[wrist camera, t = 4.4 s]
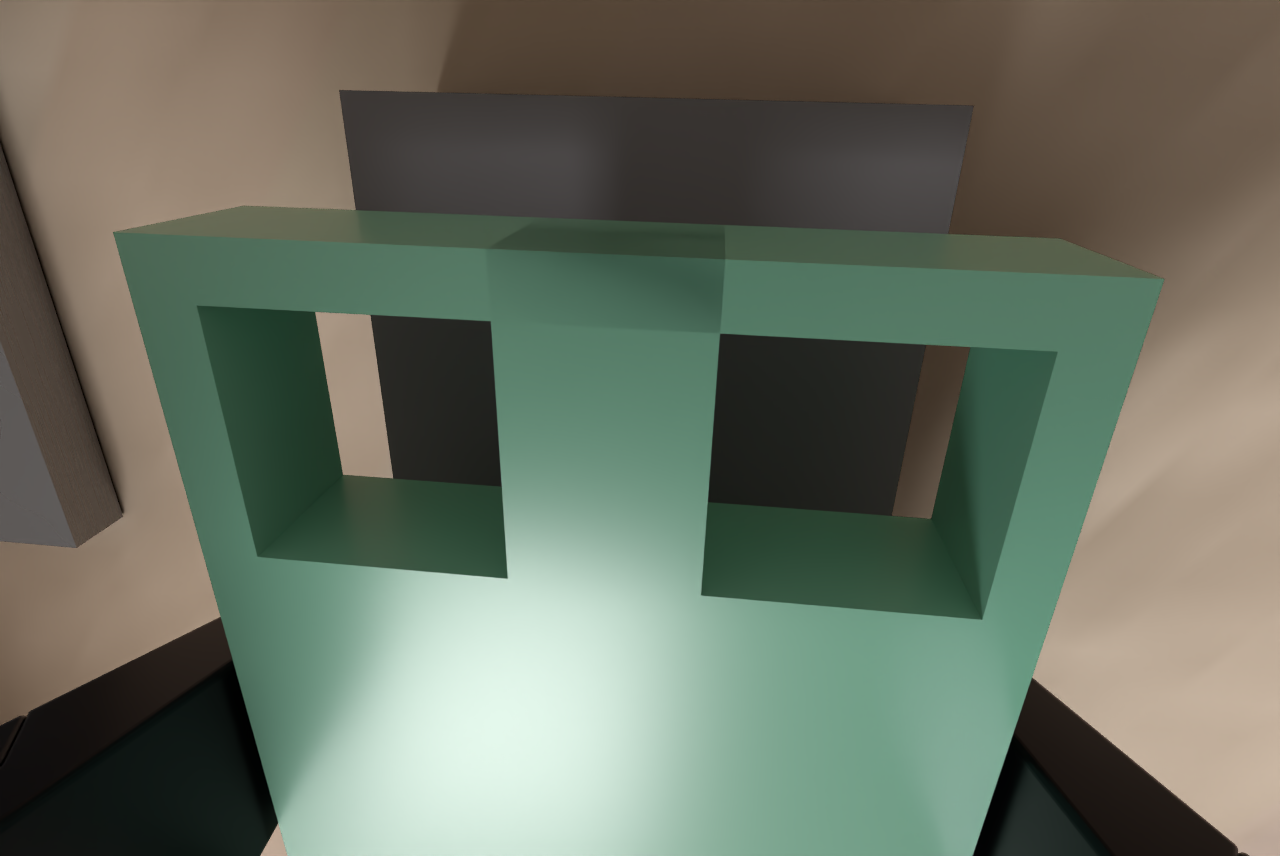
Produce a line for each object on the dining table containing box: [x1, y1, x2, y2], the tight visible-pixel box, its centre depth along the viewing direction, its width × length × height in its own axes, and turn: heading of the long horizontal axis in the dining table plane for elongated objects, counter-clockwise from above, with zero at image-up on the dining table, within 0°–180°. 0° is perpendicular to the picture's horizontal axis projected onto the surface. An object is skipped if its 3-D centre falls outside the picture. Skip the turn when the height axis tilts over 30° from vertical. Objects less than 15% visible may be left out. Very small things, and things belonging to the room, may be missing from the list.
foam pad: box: [339, 90, 974, 516], centre depth 10 cm, size 12×6×2 cm, turn 179°
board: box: [113, 206, 1164, 856], centre depth 7 cm, size 10×7×2 cm
